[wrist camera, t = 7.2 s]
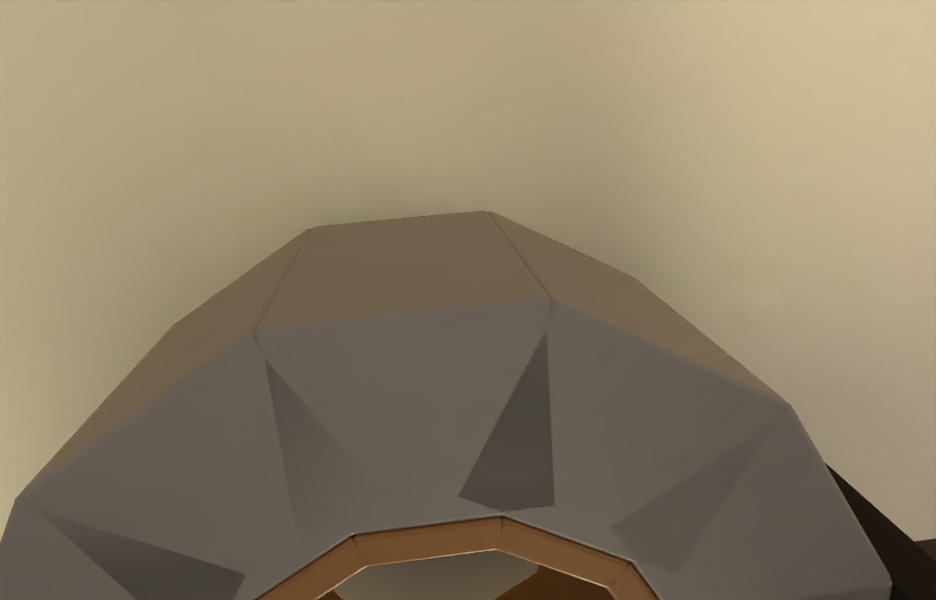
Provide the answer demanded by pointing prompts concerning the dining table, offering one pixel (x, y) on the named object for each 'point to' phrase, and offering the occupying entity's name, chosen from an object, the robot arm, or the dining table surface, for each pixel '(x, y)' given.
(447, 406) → the duct tape
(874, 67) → the dining table surface
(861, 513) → the robot arm
